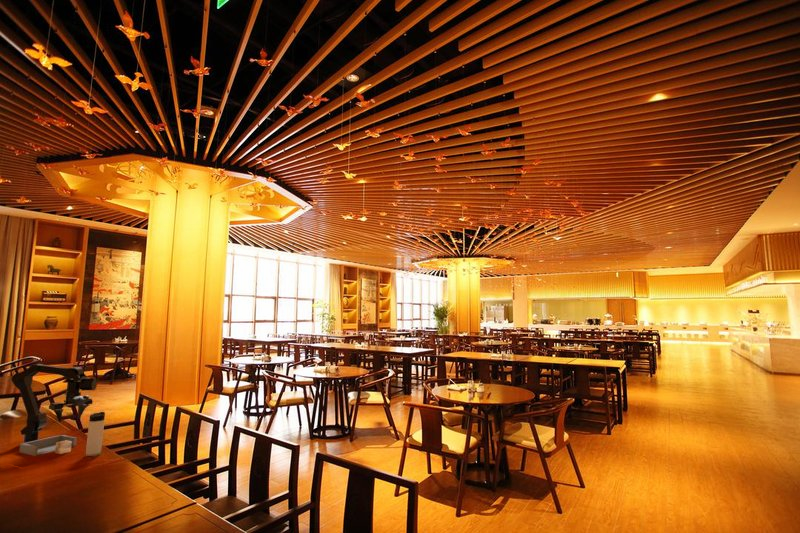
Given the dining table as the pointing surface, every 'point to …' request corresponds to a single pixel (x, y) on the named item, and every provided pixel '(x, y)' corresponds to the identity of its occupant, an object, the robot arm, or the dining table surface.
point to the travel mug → (95, 434)
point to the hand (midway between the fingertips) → (69, 420)
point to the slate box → (44, 445)
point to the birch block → (63, 447)
